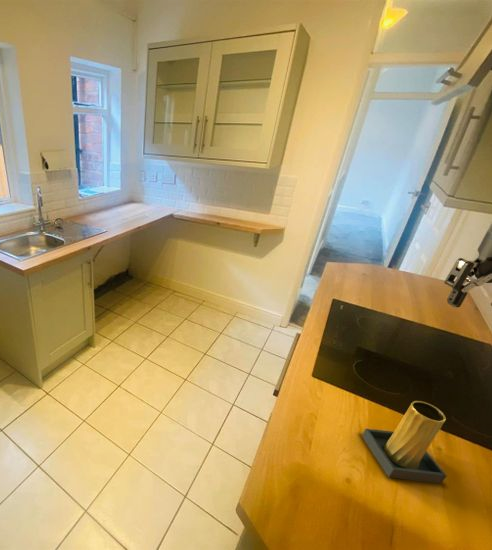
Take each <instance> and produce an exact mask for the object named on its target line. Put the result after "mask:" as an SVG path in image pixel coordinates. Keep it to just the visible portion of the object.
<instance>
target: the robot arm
mask: <svg viewBox="0 0 492 550" xmlns="http://www.w3.org/2000/svg"><path fill="white" fill-rule="evenodd" d="M477 253H478V256H477V257H476V258H474V260H467V259H465V258H463V257H459V258H458V259H456V260H455V262H454V264H453V266H452V268H451V269H450V271H449V273H448V274H447V276H446V278H445V280H444V281H443V283H444V284H445V285H447V286H448V287H450V288H452V289H451V291H450V293H449V295H448V296H447V298H446V301H447V304H448V305H450V306H451V307H453V308H461V306H462V305H463V303H464V301H465V300H466V297H467V295H468V292H469V291H471V290H472V289H474V288H475V287H481V286H483V285H484V284H492V222H491V223H490V225H489V227H488V229H487V231H486V233H485V234H484V236H483V238H482V240H481V242H480V244H479V246H478V247H477ZM490 306H491V307H492V302H490Z"/></svg>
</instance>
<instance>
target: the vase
mask: <svg viewBox="0 0 492 550" xmlns="http://www.w3.org/2000/svg"><path fill="white" fill-rule="evenodd" d="M446 420H447V417H446V415H445V413H444V412H443V411H441V410H440V409H439V408H438V407H436V406H435V405H433V404H431V403H428V402H426V401H422V400H414V401H412V402H411V403H410V405H409V407H408V408H407V410H406V411H405V412H404V415H403V416H402V418H401V420H400V421H399V423H398V425H397V427H396V428H395V430H394V431H393V432H394V433H393V434H392V436H391V437H390V439H389V440H388V442H387V443H386V444H385V445H384V452H385V454H386V455H387V457H388V458H389V459H390V460H391V461H393V462H394V463H395V464H397V465H399V466H401V467H403V468H406V469H413V470H415V469H417V468H418V467H419V464H420V461H421V460H422V458H423V456H424V455H425V453H426V451H427V452H428V449H429V447H430V446H431V444H432V442H433V441H434V439H435V438H436V436H437V435H438V433H439V432H440V430H441V429H442V427H443V425H444V423H445V422H446Z"/></svg>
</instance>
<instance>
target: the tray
mask: <svg viewBox="0 0 492 550" xmlns="http://www.w3.org/2000/svg"><path fill="white" fill-rule="evenodd" d="M393 433H394V431H393V430H392V431H391V430H384V429H383V430H381V429H373V428H364V430H363V432H362V434H361V437H362V439H363V440H364V442H365V444H366V445H367V446H368V448H369V449H370V451H371V453H372V455H373V456H374V457H375V458H376V460H377V462H378V463H379V465H380V467H381V468H382V470H383V472H385V474H386V476H387V477H388V478H390V479H398V480H399V479H400V480H406V481H407V480H409V481H417V482H424V483H425V482H427V483H432V484H433V483H435V484H442V483H443V482H444V481H445V480H446V478H447V477H448V475H447V474H446V473H445V471H444V470H443V469H442V467H440V465H439V464H438V463H437V462H436V461H435V459H434V458H433V456H431V455H430V453H429V452H428V450H427V451H426V453H425V455H424V456H423V458H422V460H421V461H420V464H419V467H418V468H417V469H415V470H413V469H406V468H403V467H401V466H399V465H397V464H395V463H394V462H393V461H391V460H390V459H389V458H388V457H387V455H386V454H385V452H384V445H385V444H386V443H387V442H388V440H389V439H390V437H391V436H392V434H393Z"/></svg>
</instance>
